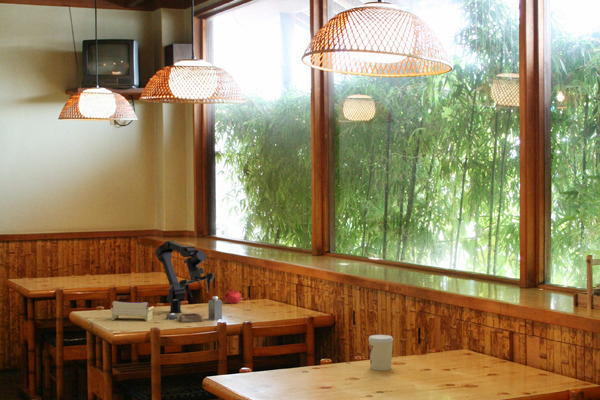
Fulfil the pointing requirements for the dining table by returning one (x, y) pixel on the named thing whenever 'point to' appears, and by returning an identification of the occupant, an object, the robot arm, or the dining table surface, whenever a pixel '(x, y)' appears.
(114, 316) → the toy sofa
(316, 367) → the dining table surface
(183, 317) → the chassis bay
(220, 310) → the grey square bottle
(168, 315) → the rubber wheel
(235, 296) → the pomegranate
